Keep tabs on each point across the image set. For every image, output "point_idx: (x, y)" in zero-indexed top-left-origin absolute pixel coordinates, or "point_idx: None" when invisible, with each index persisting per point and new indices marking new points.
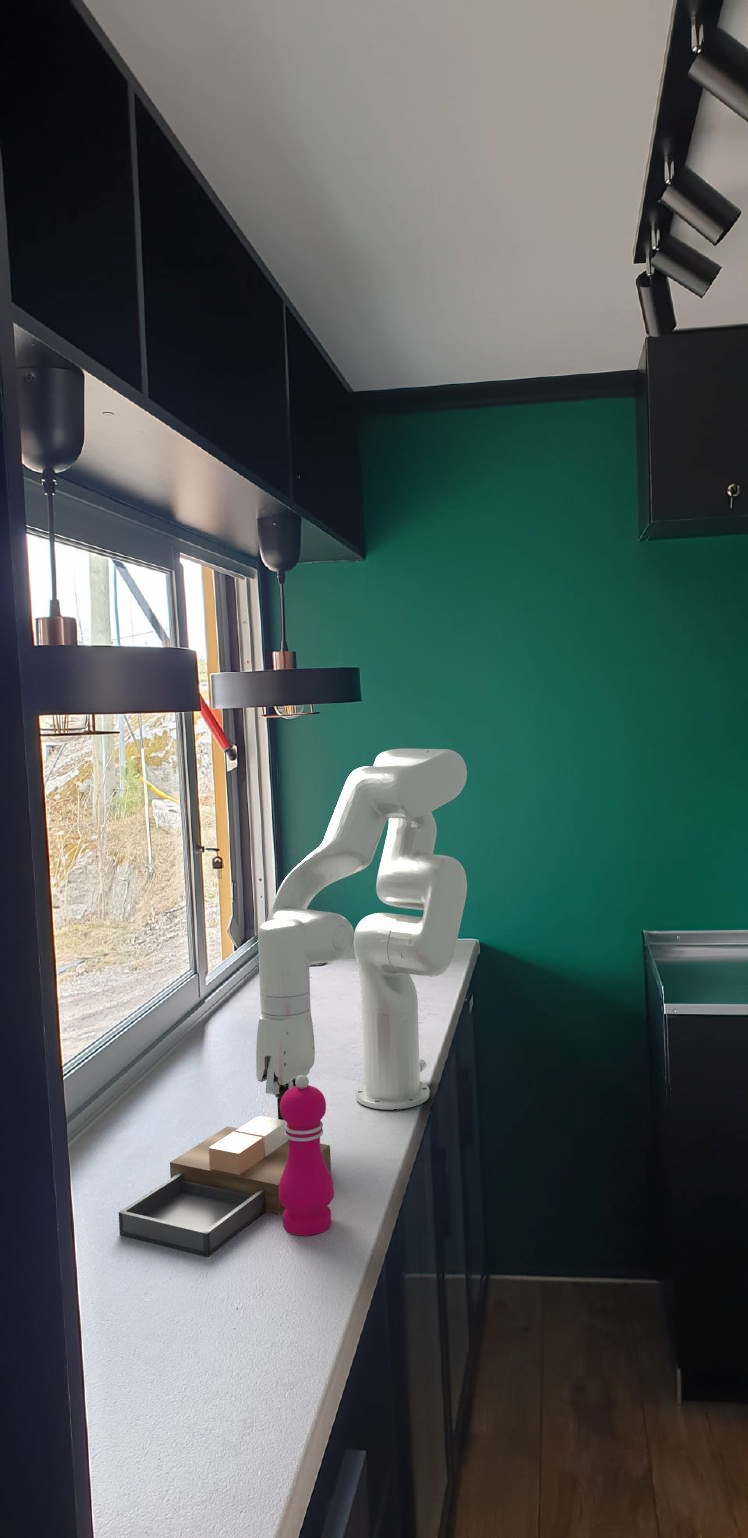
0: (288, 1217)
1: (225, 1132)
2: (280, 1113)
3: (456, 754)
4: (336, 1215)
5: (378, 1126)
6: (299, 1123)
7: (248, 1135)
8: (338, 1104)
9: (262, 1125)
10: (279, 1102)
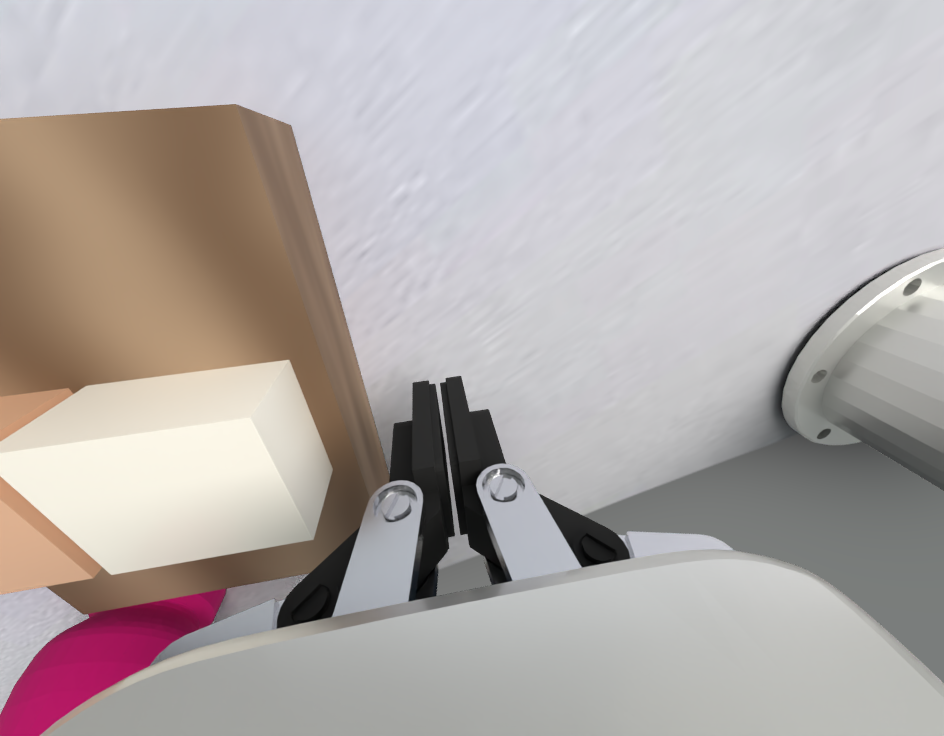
0: (91, 615)
1: (163, 171)
2: (394, 437)
3: None
4: (247, 591)
5: (676, 429)
6: None
7: (28, 535)
8: (839, 243)
9: (177, 506)
10: (389, 480)
